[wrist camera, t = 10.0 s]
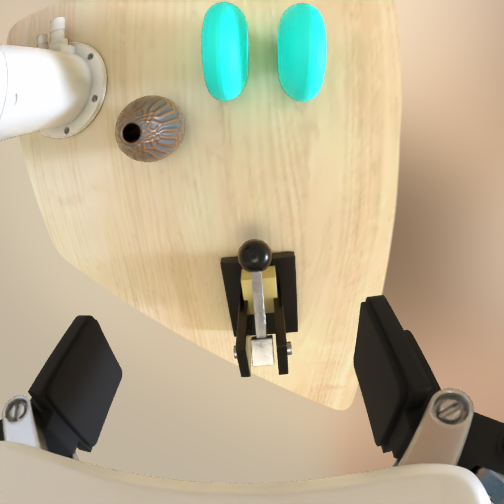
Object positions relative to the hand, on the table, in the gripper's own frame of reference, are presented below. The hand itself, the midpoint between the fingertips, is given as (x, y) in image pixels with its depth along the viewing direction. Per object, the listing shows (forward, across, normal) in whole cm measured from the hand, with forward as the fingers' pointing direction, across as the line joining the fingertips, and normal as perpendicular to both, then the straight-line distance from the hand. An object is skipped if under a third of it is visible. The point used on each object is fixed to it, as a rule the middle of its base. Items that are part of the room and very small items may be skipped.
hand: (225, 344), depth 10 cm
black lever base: (+26, 0, +16) cm, 31 cm away
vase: (+26, +9, -7) cm, 29 cm away
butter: (+25, 0, +14) cm, 28 cm away
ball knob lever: (+20, 0, +13) cm, 24 cm away
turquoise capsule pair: (+26, -3, -13) cm, 30 cm away
